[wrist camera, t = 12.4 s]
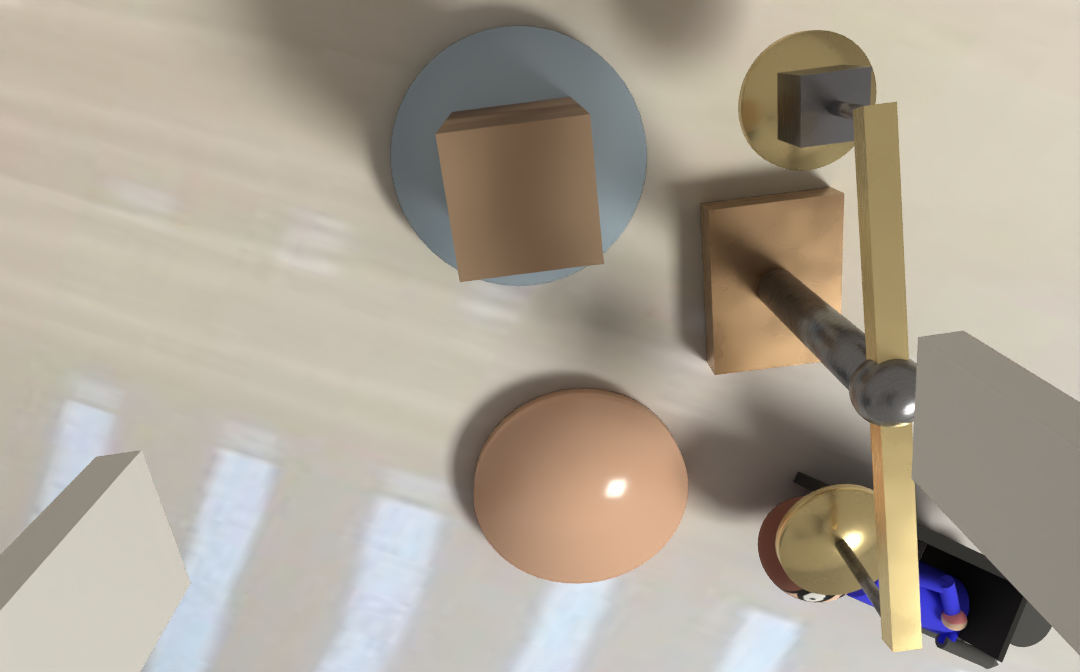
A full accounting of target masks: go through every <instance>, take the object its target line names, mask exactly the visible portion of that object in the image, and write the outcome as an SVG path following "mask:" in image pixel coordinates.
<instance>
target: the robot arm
mask: <svg viewBox="0 0 1080 672" xmlns="http://www.w3.org/2000/svg"><path fill="white" fill-rule="evenodd" d="M911 479H912V480H913V481H914V482H915V483H916V484H917V485H918V486H919V487H920V488H921V489H922V490H923V491H924V492H925V493H926V494H927V495H928V496H929V498H930V499H931V500H932V501H933V502H934V503H935V504H936V505H937V506H938V507H939V508H940V509H941V510H942V511H943V512H944V513H945V514H946V515H947V516H948V517H949V519H950V520H951V521H952V522H953V523H954V524H955V525H956V526H957V527H958V528H959V529H960V530H961V531H962V532H963V533H964V534H965V535H966V536H967V537H968V539H969V540H970V541H971V542H972V543H973V544H974V545H975V546H976V547H977V548H978V549H979V550H980V551H981V552H982V553H983V554H984V555H985V556H986V557H987V558H988V560H989V561H990V562H991V563H992V564H993V565H994V566H995V567H996V568H997V569H998V570H999V571H1000V572H1001V573H1002V574H1003V575H1004V576H1005V577H1006V578H1007V579H1008V581H1009V582H1010V583H1011V584H1012V585H1013V586H1014V587H1015V588H1016V589H1017V590H1018V591H1019V592H1020V593H1021V594H1022V595H1023V596H1024V597H1025V598H1026V599H1027V601H1028V602H1029V603H1030V604H1031V605H1032V606H1033V607H1034V608H1035V609H1036V610H1037V611H1038V612H1039V613H1040V614H1041V615H1042V616H1043V617H1044V618H1045V619H1046V620H1047V622H1048V623H1049V624H1050V625H1051V626H1052V627H1053V628H1054V629H1055V630H1056V631H1057V632H1058V633H1059V634H1060V635H1061V636H1062V637H1063V638H1064V639H1065V640H1066V642H1067V643H1068V644H1069V645H1070V646H1071V647H1072V648H1073V649H1074V650H1075V651H1076V652H1077V653H1078V654H1079V655H1080V402H1079V401H1077V400H1075V399H1074V398H1072V397H1070V396H1069V395H1067V394H1066V393H1064V392H1062V391H1061V390H1059V389H1057V388H1056V387H1054V386H1053V385H1051V384H1049V383H1048V382H1046V381H1044V380H1043V379H1041V378H1040V377H1038V376H1036V375H1035V374H1033V373H1031V372H1030V371H1028V370H1027V369H1025V368H1023V367H1022V366H1020V365H1018V364H1017V363H1015V362H1014V361H1012V360H1010V359H1009V358H1007V357H1005V356H1004V355H1002V354H1001V353H999V352H997V351H996V350H994V349H992V348H991V347H989V346H988V345H986V344H984V343H983V342H981V341H979V340H978V339H976V338H975V337H973V336H971V335H970V334H968V333H966V332H965V331H958V332H951V333H944V334H937V335H931V336H924V337H918V350H917V371H916V392H915V413H914V434H913V455H912V476H911ZM190 584H191V582H190V580H189V577H188V574H187V572H186V569H185V566H184V564H183V561H182V558H181V556H180V553H179V550H178V548H177V545H176V542H175V540H174V537H173V534H172V531H171V529H170V526H169V523H168V521H167V518H166V515H165V513H164V510H163V507H162V505H161V502H160V499H159V497H158V494H157V491H156V488H155V486H154V483H153V480H152V478H151V475H150V472H149V470H148V467H147V464H146V462H145V459H144V456H143V454H142V451H141V450H140V451H134V452H127V453H120V454H113V455H106V456H99V457H96V458H95V459H94V460H93V461H92V462H91V463H90V464H89V465H88V466H87V467H86V468H85V469H84V470H83V471H82V472H81V473H80V474H79V475H78V476H77V477H76V478H75V479H74V480H73V481H72V482H71V483H70V484H69V485H68V486H67V487H66V488H65V489H64V490H63V491H62V492H61V493H60V494H59V495H58V496H57V498H56V499H55V500H54V501H53V502H52V503H51V504H50V505H49V506H48V507H47V508H46V509H45V510H44V511H43V512H42V513H41V514H40V515H39V516H38V517H37V518H36V519H35V520H34V521H33V522H32V523H31V524H30V525H29V526H28V527H27V528H26V529H25V530H24V531H23V532H22V533H21V534H20V535H19V536H18V538H17V539H16V540H15V541H14V542H13V543H12V544H11V545H10V546H9V547H8V548H7V549H6V550H5V551H4V552H3V553H2V554H1V555H0V672H140V671H141V670H142V668H143V666H144V664H145V663H146V661H147V659H148V657H149V656H150V654H151V652H152V650H153V649H154V647H155V645H156V643H157V641H158V640H159V638H160V636H161V634H162V633H163V631H164V629H165V627H166V626H167V624H168V622H169V620H170V619H171V617H172V615H173V613H174V612H175V610H176V608H177V606H178V605H179V603H180V601H181V599H182V598H183V596H184V594H185V592H186V591H187V589H188V587H189V585H190Z"/></svg>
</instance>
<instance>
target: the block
mask: <svg viewBox="0 0 1080 672" xmlns="http://www.w3.org/2000/svg"><path fill="white" fill-rule="evenodd" d="M435 135H436V141H437V147H438V153H439V159H440V165H441V171H442V177H443V183H444V189H445V195H446V201H447V207H448V214H449V220H450V226H451V232H452V238H453V244H454V250H455V256H456V262H457V268H458V274H459V280H460V282H464V281H472V280H480V279H488V278H496V277H503V276H511V275H519V274H527V273H535V272H542V271H550V270H558V269H566V268H574V267H582V266H589V265H597V264H604V259H603V249H602V238H601V227H600V216H599V205H598V195H597V184H596V173H595V162H594V152H593V141H592V130H591V119H590V114H589V113H588V112H587V111H586V110H585V109H584V108H583V107H581V106H580V105H579V104H578V103H577V102H576V101H575V100H573V99H572V98H571V97H564V98H556V99H549V100H541V101H533V102H525V103H518V104H510V105H502V106H494V107H487V108H479V109H471V110H463V111H456V112H451V114H450V115H449V116H448V118H447V119H446V120H445V122H444V123H443V124H442V126H441V127H440V128H439V130H438V131H437V132H436V134H435Z"/></svg>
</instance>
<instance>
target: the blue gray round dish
mask: <svg viewBox="0 0 1080 672" xmlns="http://www.w3.org/2000/svg"><path fill="white" fill-rule="evenodd" d="M564 97H571V98H572V99H573V100H575V101H576V102H577V103H578V104H579V105H580V106H581V107H583V108H584V109H585V110H586V111H587V112H588V113H589V114H590V119H591V130H592V141H593V152H594V162H595V173H596V184H597V195H598V205H599V216H600V227H601V238H602V249H603V254H604V253H605V252H606V251H607V250H608V249H609V248H610V247H611V246H612V244H613V243H614V242H615V241H616V240H617V239H618V238H619V236H620V235H621V233H622V232H623V231H624V229H625V228H626V227H627V225H628V223H629V221H630V219H631V218H632V216H633V214H634V212H635V209H636V207H637V204H638V202H639V199H640V197H641V193H642V189H643V185H644V181H645V173H646V165H647V147H646V139H645V132H644V127H643V124H642V120H641V116H640V113H639V111H638V108H637V106H636V103H635V101H634V98H633V97H632V95H631V93H630V91H629V90H628V88H627V86H626V84H625V83H624V81H623V80H622V79H621V78H620V76H619V75H618V74H617V72H616V71H615V70H614V69H613V68H612V67H611V66H610V65H609V64H608V63H607V62H606V61H605V60H604V59H603V58H602V57H601V56H600V55H598V54H597V53H596V52H594V51H593V50H592V49H590V48H589V47H588V46H586V45H584V44H583V43H581V42H579V41H577V40H575V39H574V38H572V37H569V36H567V35H564V34H561V33H559V32H556V31H552V30H548V29H544V28H539V27H530V26H505V27H498V28H493V29H488V30H484V31H481V32H478V33H475V34H472V35H470V36H467V37H465V38H463V39H461V40H459V41H457V42H456V43H454V44H452V45H450V46H449V47H448V48H446V49H445V50H443V51H442V52H441V53H439V54H438V55H437V56H436V57H435V58H434V59H433V60H431V61H430V62H429V63H428V64H427V65H426V66H425V67H424V68H423V70H422V71H421V72H420V73H419V75H418V76H417V77H416V78H415V80H414V81H413V83H412V84H411V86H410V88H409V89H408V91H407V93H406V94H405V96H404V99H403V101H402V103H401V106H400V108H399V110H398V113H397V117H396V120H395V124H394V128H393V134H392V141H391V169H392V177H393V183H394V186H395V190H396V194H397V197H398V200H399V202H400V205H401V208H402V210H403V212H404V214H405V216H406V218H407V220H408V221H409V223H410V225H411V227H412V228H413V229H414V231H415V232H416V234H417V235H418V236H419V238H420V239H421V240H422V241H423V242H424V243H425V244H426V245H427V247H428V248H429V249H430V250H431V251H432V252H433V253H435V254H436V255H437V256H438V257H439V258H441V259H442V260H443V261H444V262H446V263H447V264H449V265H451V266H452V267H454V268H455V269H457V270H458V268H457V262H456V256H455V250H454V244H453V238H452V232H451V226H450V220H449V214H448V207H447V201H446V195H445V189H444V183H443V177H442V171H441V165H440V159H439V153H438V147H437V141H436V135H435V134H436V132H437V131H438V130H439V128H440V127H441V126H442V124H443V123H444V122H445V120H446V119H447V118H448V116H449V115H450V114H451V112H456V111H463V110H471V109H479V108H487V107H494V106H502V105H510V104H518V103H525V102H533V101H541V100H549V99H556V98H564ZM584 267H586V266H582V267H574V268H566V269H558V270H550V271H542V272H535V273H527V274H519V275H511V276H503V277H496V278H488V279H480V280H483V281H486V282H490V283H496V284H501V285H512V286H527V285H537V284H543V283H548V282H552V281H555V280H558V279H561V278H564V277H567V276H569V275H571V274H573V273H575V272H578V271H580V270H581V269H583V268H584Z"/></svg>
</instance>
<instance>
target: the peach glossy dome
mask: <svg viewBox="0 0 1080 672" xmlns="http://www.w3.org/2000/svg"><path fill="white" fill-rule="evenodd" d="M687 497H688V477H687V470H686V466H685V463H684V460H683V457H682V455H681V452H680V450H679V448H678V445H677V443H676V441H675V439H674V437H673V435H672V434H671V432H670V431H669V429H668V428H667V426H666V425H665V424H664V423H663V422H662V421H661V419H660V418H659V417H658V416H657V415H656V414H654V413H653V412H652V411H651V410H650V409H648V408H647V407H645V406H644V405H642V404H640V403H639V402H637V401H635V400H633V399H631V398H629V397H626V396H624V395H621V394H618V393H615V392H611V391H606V390H600V389H589V388H578V389H566V390H561V391H556V392H552V393H549V394H546V395H542V396H540V397H537V398H535V399H533V400H531V401H528V402H527V403H525V404H523V405H522V406H520V407H518V408H517V409H515V410H514V411H513V412H511V413H510V414H509V415H508V416H506V417H505V418H504V419H503V420H502V421H501V422H500V423H499V424H498V425H497V426H496V427H495V429H494V430H493V432H492V433H491V434H490V436H489V437H488V439H487V440H486V442H485V444H484V446H483V448H482V450H481V453H480V455H479V458H478V461H477V466H476V471H475V481H474V507H475V512H476V516H477V520H478V523H479V525H480V527H481V530H482V532H483V534H484V535H485V537H486V538H487V540H488V542H489V543H490V544H491V545H492V547H493V548H494V549H495V550H496V551H497V552H498V553H499V554H500V555H501V556H502V557H503V558H504V559H505V560H507V561H508V562H509V563H511V564H512V565H514V566H515V567H517V568H518V569H520V570H522V571H524V572H526V573H528V574H531V575H533V576H536V577H538V578H542V579H546V580H550V581H555V582H562V583H591V582H597V581H603V580H607V579H610V578H614V577H617V576H620V575H622V574H625V573H627V572H629V571H631V570H633V569H635V568H637V567H639V566H640V565H642V564H643V563H645V562H646V561H648V560H649V559H651V558H652V557H653V556H654V555H655V554H656V553H658V552H659V551H660V550H661V549H662V548H663V547H664V545H665V544H666V543H667V542H668V541H669V540H670V538H671V537H672V535H673V534H674V532H675V531H676V529H677V527H678V525H679V523H680V521H681V519H682V517H683V514H684V511H685V508H686V503H687Z"/></svg>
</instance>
